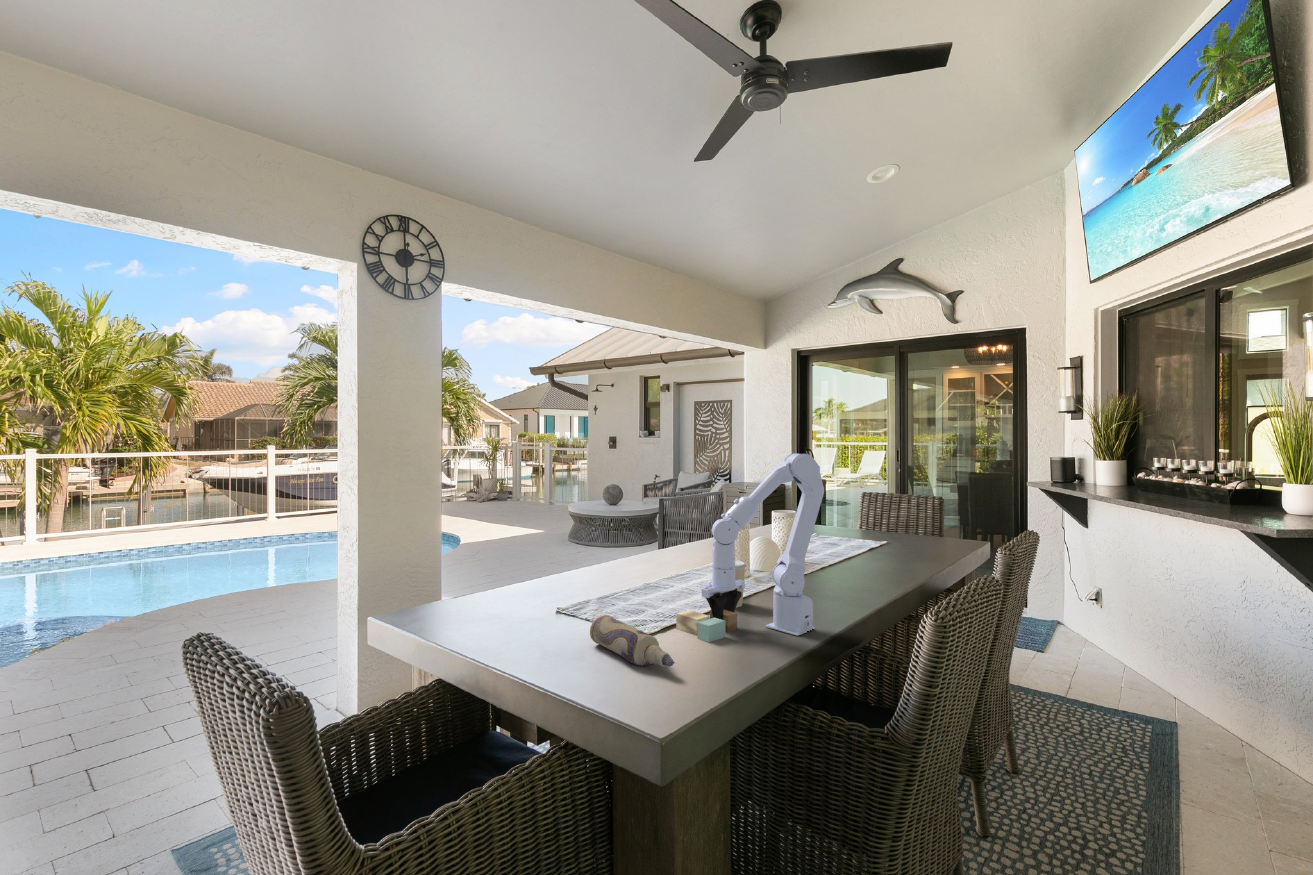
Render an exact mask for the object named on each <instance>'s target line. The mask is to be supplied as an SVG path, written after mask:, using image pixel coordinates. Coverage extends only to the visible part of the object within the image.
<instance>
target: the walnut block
mask: <svg viewBox="0 0 1313 875" xmlns="http://www.w3.org/2000/svg"><path fill="white" fill-rule="evenodd" d="M711 618H713V615H712V611H711V610H709V619H711ZM723 620H724V621H725V633H730V632H733V631H736V630H738V613H737V612H731V611H727V610H724V611H723Z"/></svg>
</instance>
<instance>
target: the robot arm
mask: <svg viewBox="0 0 1313 875" xmlns="http://www.w3.org/2000/svg"><path fill="white" fill-rule="evenodd" d="M790 482H795V483H796V484H797V487H798V488H799V490H800V491H801V496H800V499H799V503H798V506H797V509H796V513H795V516H794V520H793V523H792V526H791V530H790V533H789V537H788V539H787V543H786V546H785V550H784V552H783V553H782V554H781V556H780V558H779V560H778V563H777V564H776V565H775V566H774V567H773V569H772V572H771V577H772V580H773V582H774V583H775V586H774V588H773V589H772V590H773V591H772V592H773V594H772V595H773V597H772V598H773V599H772V601H773V602H772V603H773V604H772V605H773V606H772V608H773V609H772V611H773V613H772V614H773V615H772V617H773V618H772V622H771V623H768V624H765V627H766V628H768V629H772V630H775V631H780V632H783V633H787V634H789V635H794V636H800V635H803V634H805V633H808V632H807V631H809V632H810V630H811V631H813V630H812V629H814V630H815V626H814V602H813V600H812V598H810V597H809V596H806V595H805V594H803V593H804V592H803V590H804V588H805V584H806V579H805V571H806V555H807V551H808V548H809V544H810V542H811V538H812V535H813V531H814V528H815V525H816V521H817V518H818V514H819V511H820V507H821V505H822V502H823V497H824V495H825V487H824V484H823V479H822V476H821V466H820V465H819V464H818V462H817V461H816V460H815V459H814V457H813V456H812V455H810V454H809V453H797V452H796V453H795V452H793V453H790V454H788V455H786V456H785V458H784V460H781V461H780V462H779V463H778V464H777V465H775V467H774V468H773V469H771V471H770V472H769V473H768V474H767V475H766V477H765V478H764V479H763V480H762V481H761V482H760V483H759V484H758V486H757V487H756V488H755V489H754V490H753V491H752V492H751V493H750V494H749V495H748V496H740V498H739V499H738V498H735V500H733V505H732V506H731V507H730V508H729V509H728V510H727V511H726V513H724V512H723V513H721V515H720V517H721V518H720V519H717V520H715V521H714V523H713V524H712V526H711V529H710V531H711V535H712V537H713V541H712V546H713V548H712V575H711V576H712V578H711V580H712V581H710V582H709V585H707V586H705V587H703V588H701V597H702V598H705V599H706V601H707V604H708V606H709V607H710V611H712V615H713V618H718V619H721V620H723V611H724V610H727V611H731V612H734V613H736V612H735V611H736V609H737V608H736V606H737V603H738V601H739V599H740V598H741V596H742V592H740V591H737V589H745V580H744V581H742V580H735V560H736V548H735V547H736V546H735V545H736V540H737V539H738V536H739V532H741V531H742V530H743V529H745V527H746V526H747V525H748V524H749V523H750V522H751V521H752V520H753V519H754V518H755V517H756V516H757V515H758V514H759V506H760V505H761V503H762V502H764V500H765V499H767V497H769V496H770V495H771V494H773V492H774V491H775V490H776V489H777V488H778V487H780V486H781V484H785V483H790Z"/></svg>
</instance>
